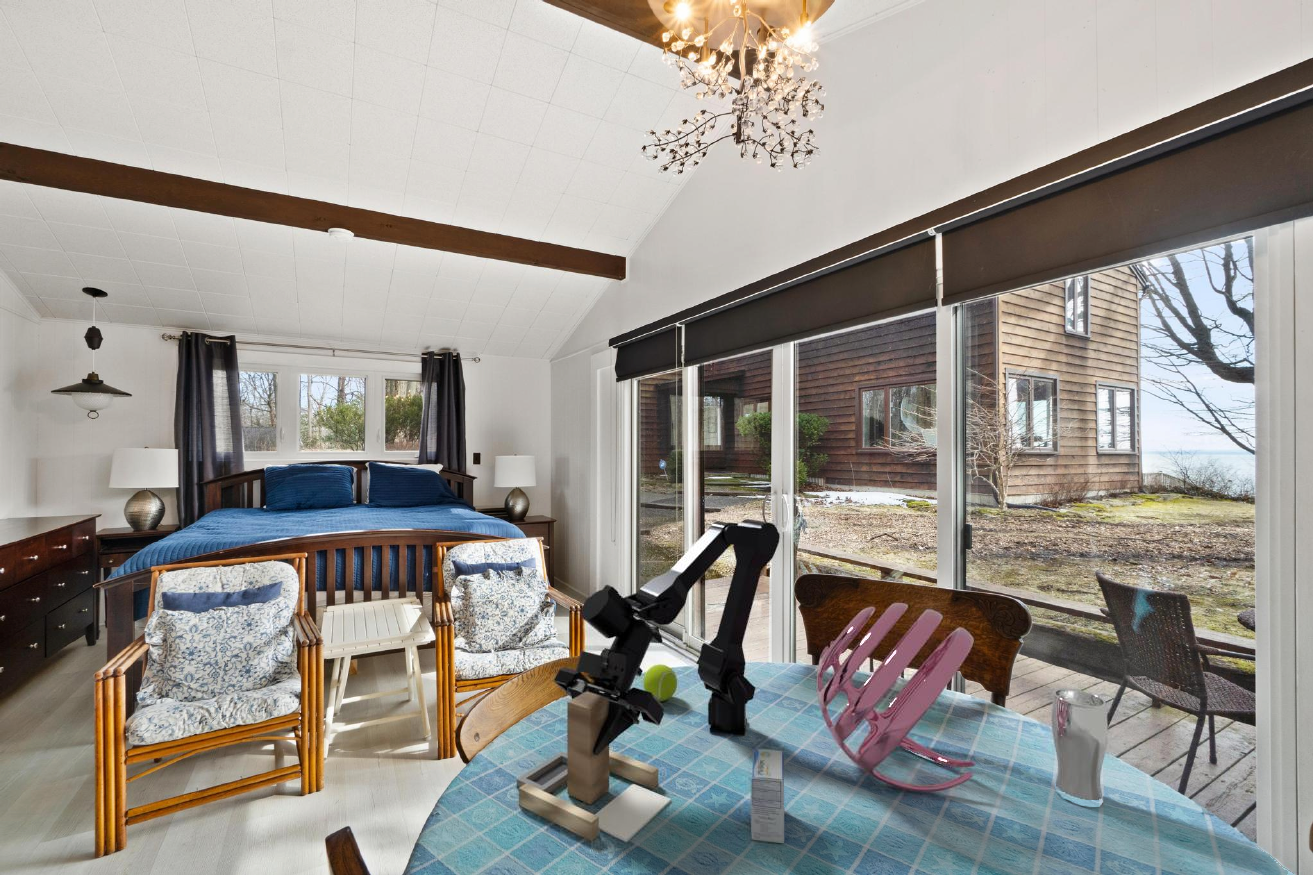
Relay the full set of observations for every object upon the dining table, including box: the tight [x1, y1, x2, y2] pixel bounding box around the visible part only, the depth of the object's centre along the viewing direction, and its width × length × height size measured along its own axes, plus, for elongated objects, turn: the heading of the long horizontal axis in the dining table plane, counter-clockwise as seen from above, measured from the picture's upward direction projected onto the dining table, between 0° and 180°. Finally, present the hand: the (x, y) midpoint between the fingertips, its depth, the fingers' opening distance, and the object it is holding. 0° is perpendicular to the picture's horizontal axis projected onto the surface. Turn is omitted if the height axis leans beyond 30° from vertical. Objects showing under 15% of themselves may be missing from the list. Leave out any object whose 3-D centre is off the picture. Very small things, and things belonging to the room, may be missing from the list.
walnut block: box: [566, 692, 610, 805], centre depth 91 cm, size 4×4×14 cm
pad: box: [594, 783, 672, 843], centre depth 86 cm, size 7×11×1 cm, turn 146°
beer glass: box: [1051, 687, 1109, 800], centre depth 91 cm, size 7×7×15 cm
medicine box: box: [750, 748, 785, 844], centre depth 84 cm, size 8×4×9 cm, turn 168°
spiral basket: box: [816, 602, 976, 793], centre depth 98 cm, size 28×28×27 cm
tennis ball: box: [642, 664, 678, 702], centre depth 124 cm, size 7×7×7 cm
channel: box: [518, 749, 659, 842], centre depth 91 cm, size 14×16×2 cm
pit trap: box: [516, 751, 567, 794], centre depth 95 cm, size 6×10×1 cm, turn 146°
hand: (582, 749), depth 90 cm, fingers closed on walnut block, 4 cm apart
